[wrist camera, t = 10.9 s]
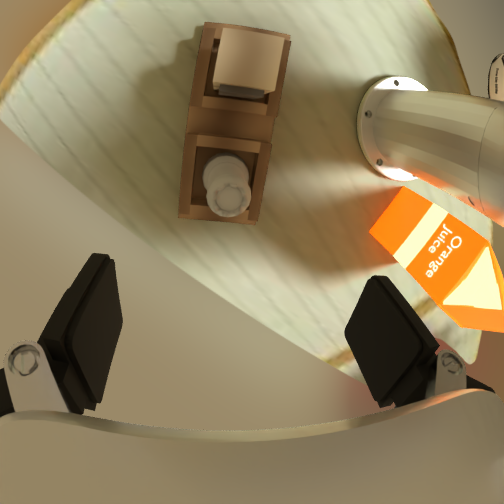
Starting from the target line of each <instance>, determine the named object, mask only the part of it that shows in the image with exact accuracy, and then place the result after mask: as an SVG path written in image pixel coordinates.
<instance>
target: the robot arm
mask: <svg viewBox="0 0 504 504" xmlns="http://www.w3.org/2000/svg"><path fill="white" fill-rule="evenodd" d="M365 112H366V116H365ZM357 133H358V139H359V143H360V146H361V149H362V151H363V153H364V156H365V157H366V159H367V160H368V162H369V163H370V165H371V166H372V167H373V168H374V169H375V170H376V171H378V172H379V173H381V174H382V175H384V176H386V177H388V178H390V179H392V180H396V181H410V180H414V179H416V178H420V179H422V180H424V181H426V182H428V183H430V184H432V185H434V186H436V187H437V188H439V189H441V190H443V191H445V192H447V193H449V194H450V195H452V196H454V197H456V198H457V199H459V200H461V201H463V202H464V203H466V204H468V205H469V206H471V207H473V208H474V209H476V210H477V211H479V212H481V213H482V214H484V215H485V216H487V217H488V218H490V219H491V220H493V221H494V222H496V223H498V224H499V225H500V226H502V227H504V101H499V100H495V99H490V98H484V97H478V96H472V95H465V94H457V93H449V92H439V91H428V90H427V89H426V88H425V87H424V86H423V85H422V84H420V83H419V82H417V81H416V80H413V79H411V78H409V77H403V76H391V77H386V78H383V79H381V80H379V81H377V82H376V83H375V84H373V85H372V86H371V87H370V88H369V89H368V91H367V92H366V93H365V95H364V97H363V99H362V101H361V103H360V107H359V111H358V116H357ZM376 161H377V162H376ZM122 323H123V318H122V313H121V306H120V300H119V293H118V286H117V279H116V271H115V262H114V260H113V259H110V257H109V255H108V254H99V253H93V254H92V255H91V256H90V258H89V259H88V260H87V262H86V263H85V265H84V266H83V268H82V270H81V271H80V272H79V274H78V276H77V277H76V279H75V280H74V282H73V284H72V285H71V287H70V288H69V289H67V290H66V292H65V293H64V295H63V297H62V298H61V300H60V302H59V303H58V305H57V307H56V308H55V310H54V312H53V314H52V315H51V317H50V319H49V321H48V323H47V324H46V326H45V328H44V330H43V332H42V334H41V336H40V338H39V340H38V342H37V343H36V342H34V341H27V340H25V341H20V342H18V343H16V344H14V345H13V346H12V347H11V348H10V349H9V350H8V351H7V353H6V354H5V358H4V368H2V369H0V504H504V403H503V402H502V401H501V399H500V398H499V397H498V396H497V395H496V394H495V392H494V390H493V389H492V388H491V387H488V386H487V385H485V384H483V383H481V382H479V381H477V380H475V379H473V378H471V377H469V376H467V375H466V367H465V364H464V362H463V360H462V359H461V358H460V357H459V356H458V355H457V354H456V353H454V352H453V351H450V350H442V351H440V352H439V353H438V355H437V356H436V354H435V351H436V350H437V349H438V347H439V346H440V345H439V344H438V343H437V341H436V340H435V338H434V337H433V335H432V334H431V333H430V331H429V330H428V328H427V327H426V326H425V324H424V323H423V322H422V320H421V319H420V318H419V316H418V315H417V314H416V312H415V311H414V310H413V308H412V307H411V306H410V304H409V303H408V302H407V301H406V299H405V298H404V297H403V295H402V294H401V293H400V292H399V290H398V289H397V288H396V287H395V285H394V284H393V283H392V282H391V281H390V279H389V278H388V277H387V276H377V275H374V276H372V277H371V278H370V279H369V280H368V281H367V283H366V285H365V287H364V289H363V292H362V294H361V296H360V298H359V301H358V303H357V305H356V307H355V309H354V311H353V313H352V315H351V318H350V320H349V322H348V324H347V326H346V328H345V338H346V340H347V342H348V344H349V346H350V348H351V350H352V352H353V355H354V357H355V359H356V361H357V363H358V365H359V368H360V370H361V372H362V374H363V376H364V378H365V381H366V383H367V385H368V387H369V390H370V392H371V394H372V396H373V398H374V400H375V401H377V402H378V405H379V407H380V408H382V407H386V406H390V405H391V404H392V403H393V402H394V403H395V408H394V409H391V410H387V411H383V412H379V413H375V414H370V415H366V416H362V417H357V418H352V419H347V420H341V421H336V422H330V423H323V424H317V425H310V426H301V427H291V428H281V429H267V430H246V431H245V430H244V431H209V430H187V429H174V428H164V427H154V426H145V425H137V424H130V423H124V422H117V421H112V420H106V419H101V418H95V417H90V416H83V415H82V414H83V413H84V408H85V409H89V410H93V411H95V408H96V403H101V401H102V397H103V393H104V389H105V385H106V381H107V377H108V373H109V369H110V366H111V362H112V359H113V355H114V352H115V348H116V345H117V342H118V338H119V335H120V332H121V329H122Z"/></svg>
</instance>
